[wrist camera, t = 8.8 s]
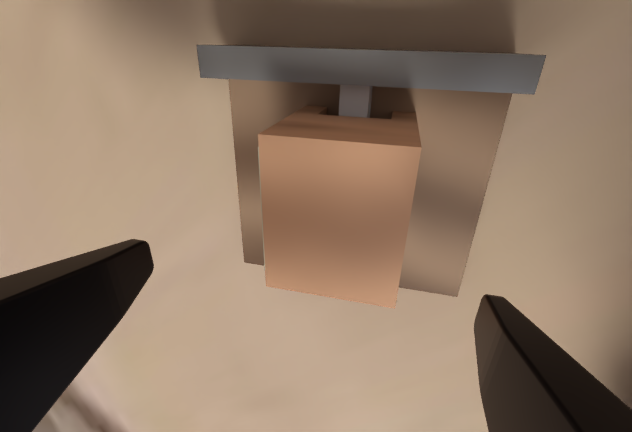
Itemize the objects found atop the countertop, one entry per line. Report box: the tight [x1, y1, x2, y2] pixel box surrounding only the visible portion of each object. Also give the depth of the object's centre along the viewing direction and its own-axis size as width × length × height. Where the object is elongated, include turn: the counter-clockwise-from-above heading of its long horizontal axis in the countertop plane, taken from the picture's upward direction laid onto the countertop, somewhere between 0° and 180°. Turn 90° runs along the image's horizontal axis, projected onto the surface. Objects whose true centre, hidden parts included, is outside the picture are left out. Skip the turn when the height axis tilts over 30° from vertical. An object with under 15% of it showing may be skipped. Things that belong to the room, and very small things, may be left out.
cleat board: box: [197, 45, 546, 297], centre depth 16 cm, size 12×12×4 cm
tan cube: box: [258, 106, 422, 308], centre depth 14 cm, size 6×5×6 cm
